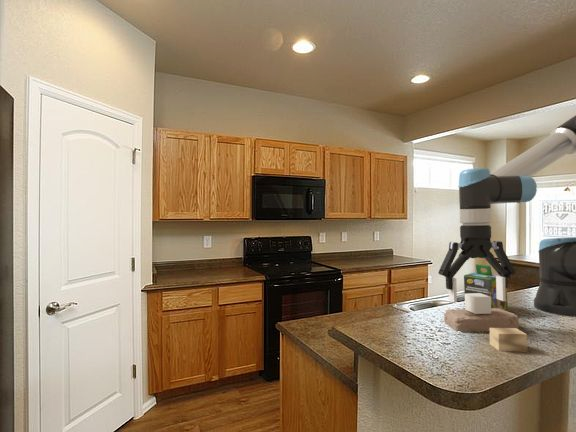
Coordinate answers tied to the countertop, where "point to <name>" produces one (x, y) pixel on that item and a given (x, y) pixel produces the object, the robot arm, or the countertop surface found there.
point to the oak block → (508, 339)
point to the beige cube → (478, 303)
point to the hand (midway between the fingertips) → (477, 300)
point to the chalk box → (484, 286)
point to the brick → (480, 320)
